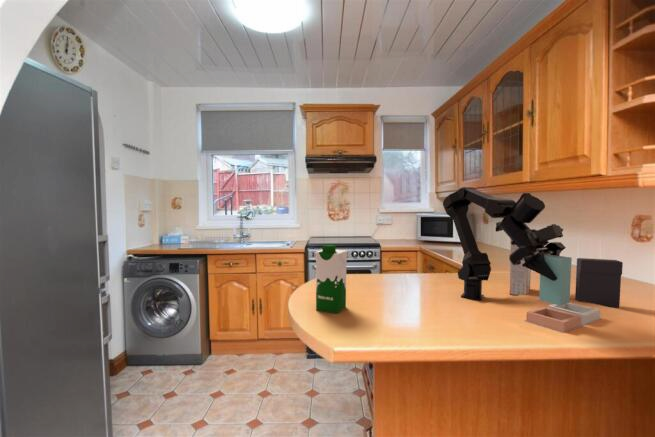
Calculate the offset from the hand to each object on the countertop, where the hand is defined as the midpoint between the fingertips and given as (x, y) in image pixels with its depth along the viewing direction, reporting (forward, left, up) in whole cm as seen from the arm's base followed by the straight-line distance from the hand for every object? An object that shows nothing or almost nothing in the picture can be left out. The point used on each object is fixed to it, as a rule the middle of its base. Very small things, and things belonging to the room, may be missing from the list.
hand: (560, 278), depth 85 cm
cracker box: (-36, -12, -13) cm, 40 cm away
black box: (-33, +10, -13) cm, 37 cm away
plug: (-1, -1, -6) cm, 7 cm away
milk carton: (+22, -58, -13) cm, 63 cm away
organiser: (-5, +1, -13) cm, 14 cm away
